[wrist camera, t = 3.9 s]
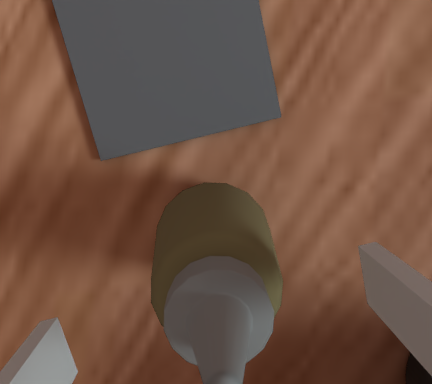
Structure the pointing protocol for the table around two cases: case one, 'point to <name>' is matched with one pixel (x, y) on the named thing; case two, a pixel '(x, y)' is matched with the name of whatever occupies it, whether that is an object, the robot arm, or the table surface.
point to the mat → (167, 69)
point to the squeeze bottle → (216, 279)
